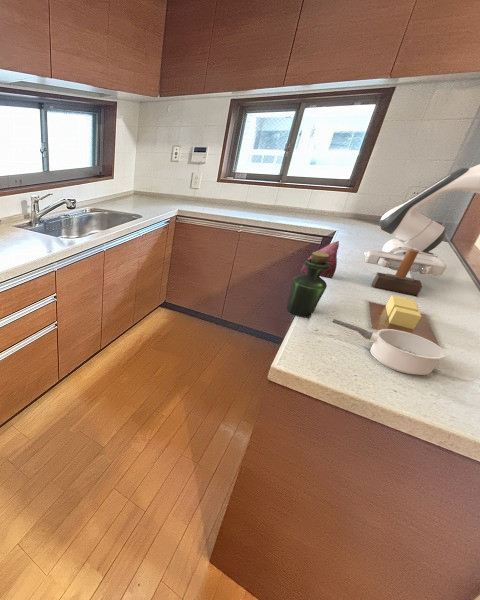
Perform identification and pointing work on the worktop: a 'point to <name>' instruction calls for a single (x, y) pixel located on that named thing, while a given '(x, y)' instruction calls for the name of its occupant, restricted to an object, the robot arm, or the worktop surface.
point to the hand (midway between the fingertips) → (405, 268)
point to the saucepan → (398, 358)
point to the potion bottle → (308, 287)
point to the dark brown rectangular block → (396, 285)
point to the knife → (405, 266)
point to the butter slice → (404, 317)
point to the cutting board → (382, 322)
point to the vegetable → (331, 260)
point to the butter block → (400, 304)
